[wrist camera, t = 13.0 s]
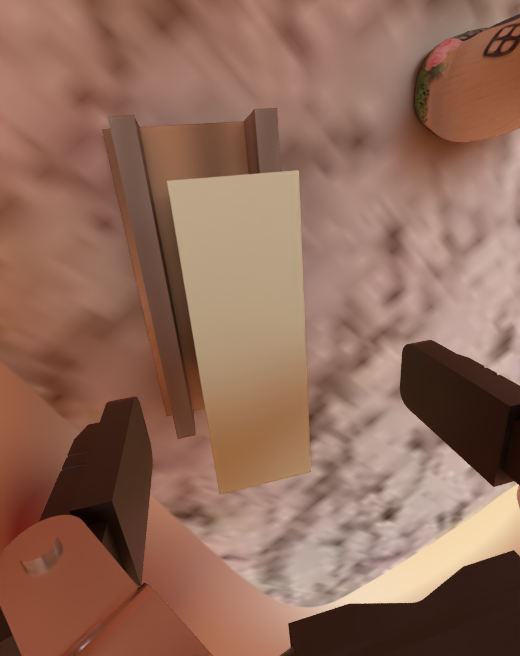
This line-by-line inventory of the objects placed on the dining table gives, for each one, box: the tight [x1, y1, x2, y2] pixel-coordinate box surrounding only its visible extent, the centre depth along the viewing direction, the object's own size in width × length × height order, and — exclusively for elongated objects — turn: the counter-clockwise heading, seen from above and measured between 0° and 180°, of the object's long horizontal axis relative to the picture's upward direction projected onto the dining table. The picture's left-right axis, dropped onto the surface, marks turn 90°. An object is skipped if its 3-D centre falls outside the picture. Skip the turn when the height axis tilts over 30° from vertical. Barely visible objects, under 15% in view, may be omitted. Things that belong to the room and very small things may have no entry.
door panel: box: [167, 170, 311, 494], centre depth 18 cm, size 4×12×12 cm, turn 4°
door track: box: [102, 108, 281, 439], centre depth 23 cm, size 10×19×4 cm, turn 5°
